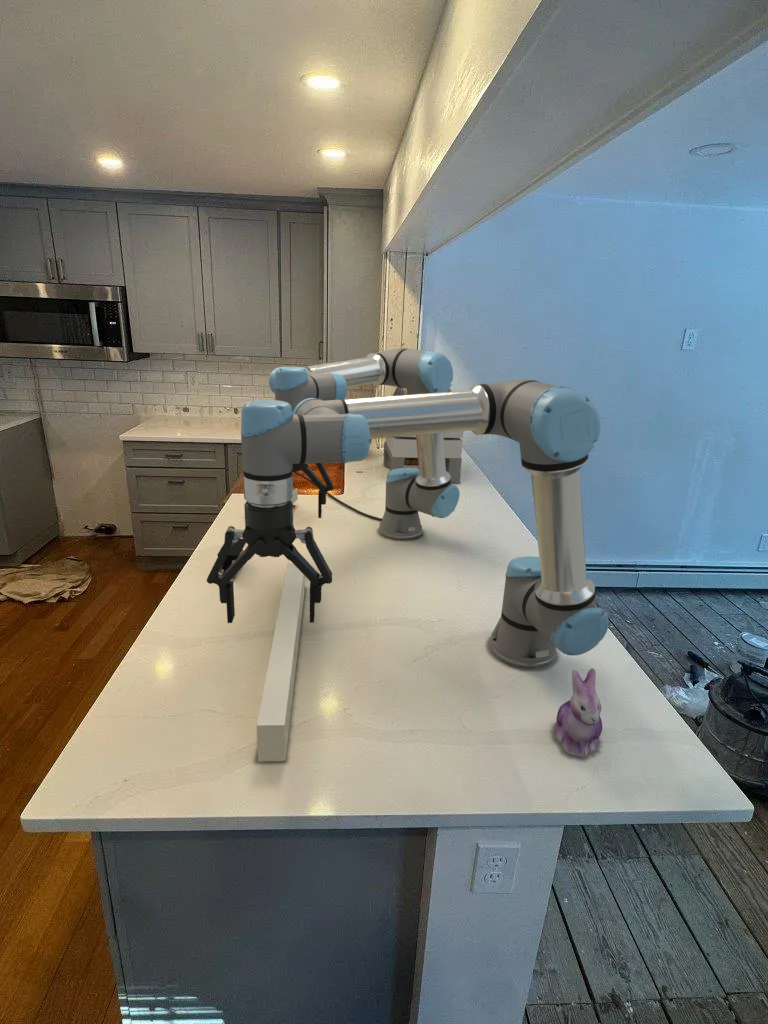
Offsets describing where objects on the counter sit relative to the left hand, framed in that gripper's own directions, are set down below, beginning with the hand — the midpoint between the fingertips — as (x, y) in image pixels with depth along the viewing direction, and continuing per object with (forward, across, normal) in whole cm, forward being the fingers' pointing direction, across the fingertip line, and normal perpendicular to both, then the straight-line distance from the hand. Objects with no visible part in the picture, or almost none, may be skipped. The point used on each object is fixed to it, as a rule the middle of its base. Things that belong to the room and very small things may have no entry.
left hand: (292, 516), depth 144 cm
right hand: (0, 0, -50) cm, 50 cm away
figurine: (+24, +56, -54) cm, 82 cm away
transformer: (+24, +52, +126) cm, 139 cm away
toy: (+24, -10, +64) cm, 70 cm away
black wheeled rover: (+24, -19, +19) cm, 36 cm away
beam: (+24, 0, -25) cm, 35 cm away
